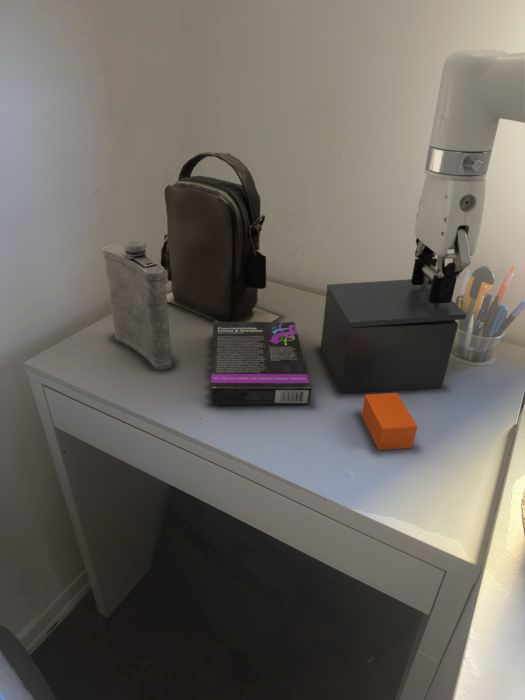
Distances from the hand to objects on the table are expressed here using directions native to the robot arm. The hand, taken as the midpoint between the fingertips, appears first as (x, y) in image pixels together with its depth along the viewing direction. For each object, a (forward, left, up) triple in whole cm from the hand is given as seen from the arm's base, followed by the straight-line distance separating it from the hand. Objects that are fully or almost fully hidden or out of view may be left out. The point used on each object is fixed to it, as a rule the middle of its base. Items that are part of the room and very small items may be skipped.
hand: (430, 291), depth 73 cm
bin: (+6, 0, -13) cm, 14 cm away
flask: (+43, -9, -13) cm, 45 cm away
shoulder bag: (+30, -23, -13) cm, 40 cm away
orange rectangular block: (+10, +15, -13) cm, 22 cm away
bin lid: (+6, 0, -2) cm, 6 cm away
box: (+25, -2, -13) cm, 28 cm away
